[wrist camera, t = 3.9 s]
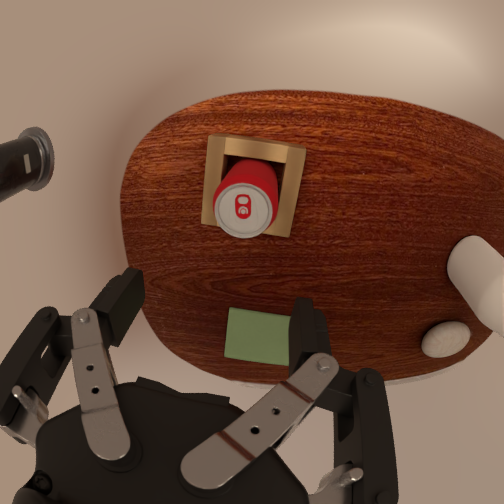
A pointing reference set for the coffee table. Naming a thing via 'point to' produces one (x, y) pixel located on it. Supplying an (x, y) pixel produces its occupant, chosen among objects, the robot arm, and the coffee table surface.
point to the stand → (259, 149)
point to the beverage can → (247, 198)
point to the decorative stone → (445, 339)
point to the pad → (257, 336)
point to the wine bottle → (479, 279)
